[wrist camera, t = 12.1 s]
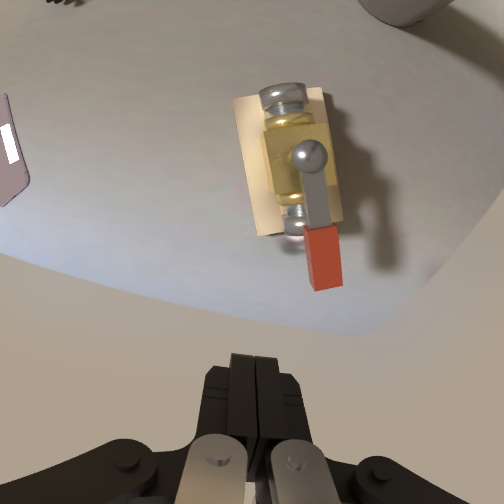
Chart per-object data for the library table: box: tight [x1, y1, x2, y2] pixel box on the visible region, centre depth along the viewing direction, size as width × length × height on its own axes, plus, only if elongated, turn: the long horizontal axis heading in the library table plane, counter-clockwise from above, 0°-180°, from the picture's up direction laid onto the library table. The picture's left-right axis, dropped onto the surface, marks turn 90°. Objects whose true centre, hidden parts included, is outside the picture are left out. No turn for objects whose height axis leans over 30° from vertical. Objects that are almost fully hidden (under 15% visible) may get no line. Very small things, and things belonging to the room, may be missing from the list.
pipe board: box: [232, 87, 344, 236], centre depth 28 cm, size 9×14×4 cm, turn 11°
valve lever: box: [290, 139, 343, 291], centre depth 22 cm, size 11×2×2 cm, turn 10°
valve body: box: [259, 83, 337, 236], centre depth 25 cm, size 5×13×8 cm, turn 11°
